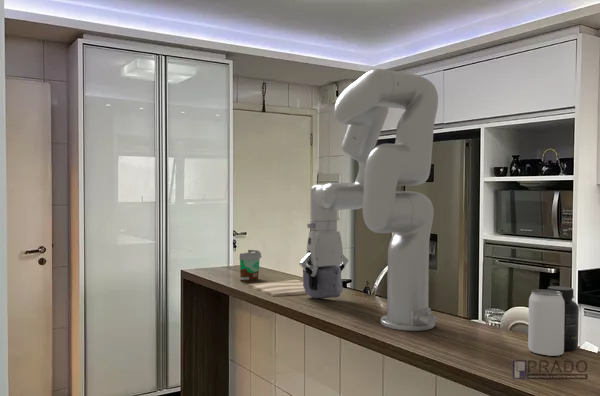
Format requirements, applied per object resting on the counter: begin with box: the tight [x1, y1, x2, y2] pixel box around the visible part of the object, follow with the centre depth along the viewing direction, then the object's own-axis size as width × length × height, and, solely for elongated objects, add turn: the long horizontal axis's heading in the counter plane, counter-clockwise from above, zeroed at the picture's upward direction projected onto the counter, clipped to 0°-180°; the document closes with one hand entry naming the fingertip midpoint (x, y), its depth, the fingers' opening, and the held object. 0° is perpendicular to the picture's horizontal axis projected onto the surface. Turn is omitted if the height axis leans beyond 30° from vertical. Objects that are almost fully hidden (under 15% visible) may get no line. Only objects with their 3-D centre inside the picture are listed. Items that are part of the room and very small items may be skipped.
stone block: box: [302, 264, 343, 299], centre depth 154 cm, size 12×5×10 cm, turn 55°
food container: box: [239, 249, 262, 282], centre depth 187 cm, size 12×6×10 cm, turn 171°
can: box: [527, 289, 565, 357], centre depth 106 cm, size 6×6×12 cm
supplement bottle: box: [547, 285, 580, 351], centre depth 110 cm, size 7×7×12 cm
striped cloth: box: [248, 279, 307, 298], centre depth 169 cm, size 18×18×1 cm
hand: (324, 288), depth 154 cm, fingers open, 6 cm apart
